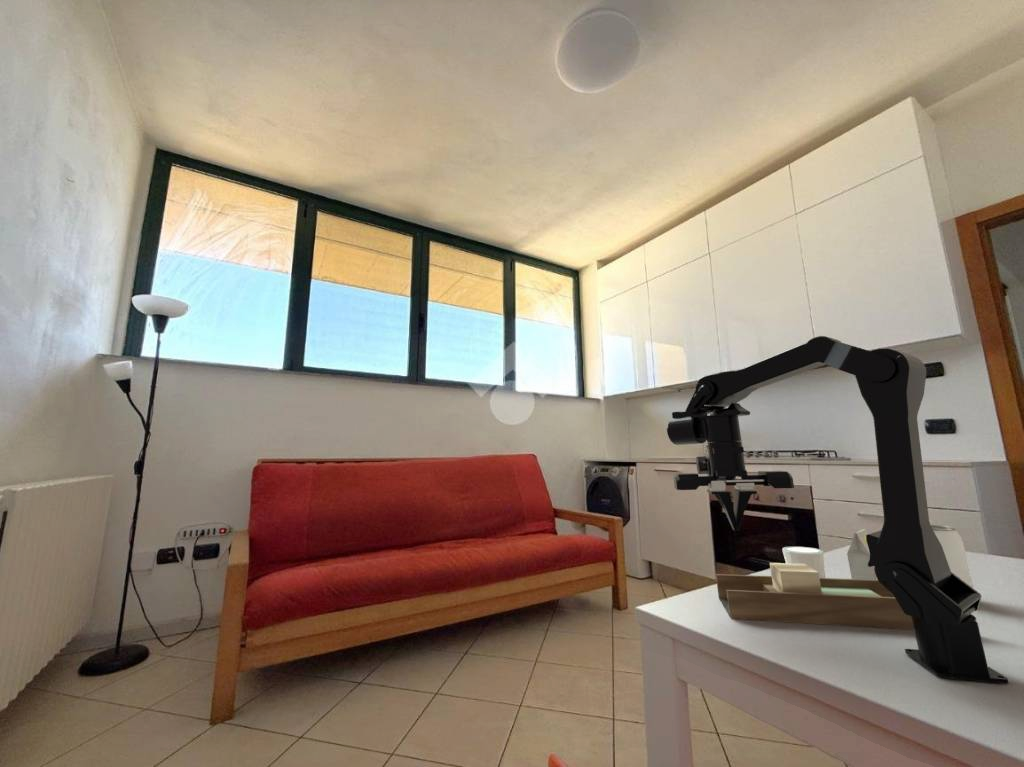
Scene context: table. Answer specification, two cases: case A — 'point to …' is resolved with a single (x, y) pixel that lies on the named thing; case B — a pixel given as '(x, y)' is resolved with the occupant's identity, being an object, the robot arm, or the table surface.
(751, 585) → the tray
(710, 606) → the table surface
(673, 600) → the table surface
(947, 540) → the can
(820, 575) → the white cup
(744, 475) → the robot arm
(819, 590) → the maple block
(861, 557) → the white gable top carton
